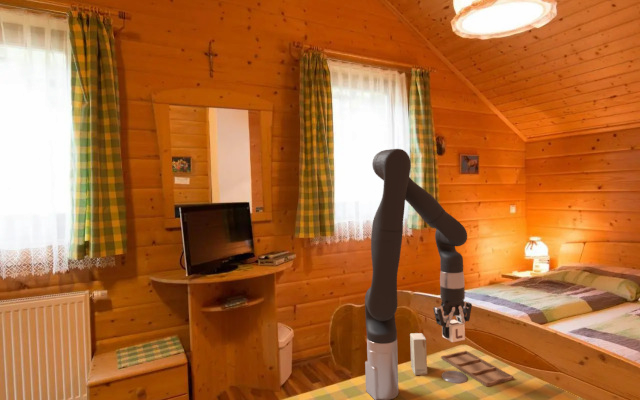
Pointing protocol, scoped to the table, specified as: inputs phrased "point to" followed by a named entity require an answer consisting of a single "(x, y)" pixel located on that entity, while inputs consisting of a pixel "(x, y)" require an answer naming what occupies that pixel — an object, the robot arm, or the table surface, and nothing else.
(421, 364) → the skincare box
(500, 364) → the table surface
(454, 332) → the letter cube
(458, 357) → the tray
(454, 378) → the slate coaster
